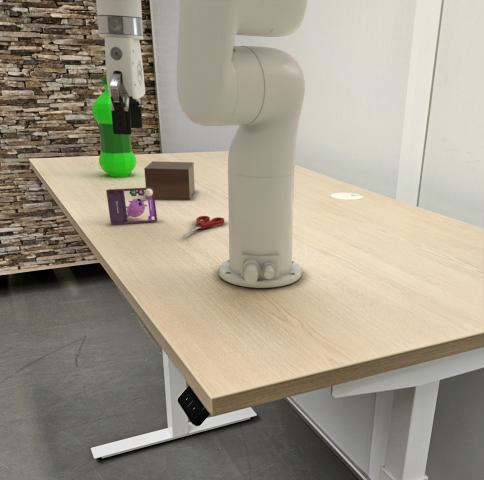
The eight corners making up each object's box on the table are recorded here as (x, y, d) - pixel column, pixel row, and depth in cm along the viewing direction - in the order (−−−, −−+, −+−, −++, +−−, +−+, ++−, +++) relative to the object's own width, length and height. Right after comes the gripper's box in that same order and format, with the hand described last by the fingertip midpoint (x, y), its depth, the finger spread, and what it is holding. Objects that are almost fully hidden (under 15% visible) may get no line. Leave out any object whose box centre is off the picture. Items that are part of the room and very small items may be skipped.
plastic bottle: (141, 177, 157) (133, 78, 147) (100, 179, 153) (89, 77, 143) (136, 171, 165) (128, 76, 155) (97, 172, 162) (87, 76, 151)
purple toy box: (106, 189, 110) (153, 186, 114) (104, 192, 115) (149, 190, 119) (111, 224, 111) (158, 220, 115) (108, 226, 116) (153, 223, 119)
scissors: (226, 222, 116) (225, 217, 116) (197, 240, 104) (197, 234, 104) (201, 219, 117) (201, 214, 117) (170, 237, 105) (169, 231, 105)
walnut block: (189, 199, 134) (188, 169, 131) (146, 198, 134) (144, 168, 131) (194, 191, 143) (193, 162, 140) (154, 190, 143) (152, 161, 140)
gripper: (131, 28, 94) (139, 137, 101) (151, 31, 109) (156, 126, 116) (84, 26, 93) (95, 136, 100) (111, 29, 109) (119, 124, 116)
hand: (128, 130), depth 108 cm, fingers open, 9 cm apart
